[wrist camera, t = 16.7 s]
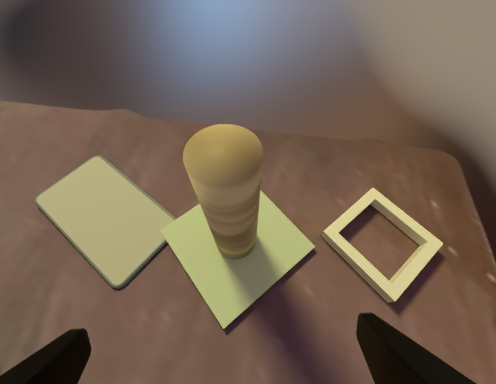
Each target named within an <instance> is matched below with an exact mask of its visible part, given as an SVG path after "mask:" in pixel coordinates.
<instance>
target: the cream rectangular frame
mask: <svg viewBox="0 0 496 384" xmlns="http://www.w3.org/2000/svg"><path fill="white" fill-rule="evenodd" d="M369 204H370V205H372V206H373V207H374V208H375V209H376V210H378V211H379V212H380V213H381V214H382V215H384V216H385V217H386V218H387V219H388V220H390V221H391V222H392V223H393V224H394V225H396V226H397V227H398V228H399V229H400V230H402V231H403V232H404V233H405V234H406V235H408V236H409V237H410V238H411V239H412V240H414V241H415V242H416V243H417V244H418V245H420V246H419V247H418V248H417V250H416V251H415V252H414V253H413V254H412V255H411V256H410V258H409V259H408V260H407V261H406V262H405V263H404V264H403V266H402V267H401V268H400V269H399V270H398V271H397V272H396V273H395V275H394V276H393V277H392V278H391V279H390V280H389V281H388V280H387V279H386V278H385V277H384V276H383V275H382V274H381V273H380V272H379V271H378V270H377V269H376V268H375V267H374V266H373V265H372V264H371V263H369V262H368V261H367V260H366V259H365V258H364V257H363V256H362V255H361V254H360V253H359V252H358V251H357V250H356V249H355V248H354V247H353V246H352V245H351V244H350V243H348V242H347V241H346V240H345V239H344V238H343V237H342V236H341V235H340V234H339V232H340V231H341V230H342V229H343V228H344V227H345V226H347V225H348V224H349V223H350V222H351V221H352V220H353V219H354V218H355V217H356V216H357V215H359V214H360V213H361V212H362V211H363V210H364V209H365V208H366V207H367V206H368V205H369ZM320 236H321V237H322V238H323V239H324V240H325V241H326V242H327V243H328V244H329V245H330V246H331V247H332V248H333V249H334V250H335V251H336V252H337V253H338V254H339V255H340V256H341V257H342V258H343V259H344V260H345V261H346V262H347V263H348V264H349V265H350V266H351V267H352V268H353V269H354V270H355V271H356V272H357V273H358V274H359V275H360V276H361V277H362V278H363V279H364V280H365V281H366V282H367V283H368V284H369V285H370V286H371V287H372V288H373V289H374V290H375V291H376V292H377V293H378V294H379V295H380V296H381V297H382V298H383V299H384V300H385V301H386V302H387V303H390V302H395V301H396V300H397V299H398V298H399V297H400V295H401V294H402V293H403V292H404V291H405V289H406V288H407V287H408V286H409V284H410V283H411V282H412V281H413V280H414V278H415V277H416V276H417V275H418V274H419V272H420V271H421V270H422V269H423V268H424V266H425V265H426V264H427V263H428V262H429V260H430V259H431V258H432V257H433V256H434V254H435V253H436V252H437V251H438V249H439V248H440V247H441V246H442V245H443V243H442V242H441V241H440V240H438V239H437V238H436V237H435V236H433V235H432V234H431V233H430V232H428V231H427V230H426V229H425V228H423V227H422V226H421V225H419V224H418V223H417V222H416V221H414V220H413V219H412V218H411V217H409V216H408V215H407V214H406V213H404V212H403V211H402V210H401V209H399V208H398V207H397V206H396V205H394V204H393V203H392V202H391V201H389V200H388V199H387V198H386V197H384V196H383V195H382V194H380V193H379V192H378V191H377V190H375V189H374V188H372V189H371V190H370V191H369V192H367V193H366V194H365V195H364V196H363V197H362V198H361V199H360V200H358V201H357V202H356V203H355V204H354V205H353V206H352V207H350V208H349V209H348V210H347V211H346V212H345V213H344V214H343V215H341V216H340V217H339V218H338V219H337V220H336V221H335V222H333V223H332V224H331V225H330V226H329V227H328V228H327V229H326V230H324V231H323V233H322V234H321V235H320Z"/></svg>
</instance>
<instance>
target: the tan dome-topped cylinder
mask: <svg viewBox="0 0 496 384" xmlns="http://www.w3.org/2000/svg"><path fill="white" fill-rule="evenodd" d="M183 162H184V165H185V168H186V170H187V173H188V175H189V178H190V180H191V183H192V185H193V188H194V190H195V193H196V195H197V198H198V200H199V203H200V205H201V208H202V210H203V213H204V215H205V218H206V220H207V223H208V225H209V228H210V230H211V233H212V235H213V238H214V240H215V243H216V245H217V248H218V250H219V251H220V252H221V253H222V254H223V255H224V256H226V257H228V258H231V259H240V258H243V257H246V256H247V255H249V254H250V253H251V252H252V250H253V249H254V247H255V244H256V237H257V224H258V212H259V200H260V187H261V175H262V163H263V148H262V145H261V142H260V141H259V139H258V138H257V137H256V135H254V134H253V133H252V132H251V131H249V130H248V129H246V128H243V127H241V126H237V125H232V124H231V125H230V124H220V125H213V126H210V127H207V128H205V129H203V130H201V131H199V132H197V133H196V134H195V135H194V136H193V137H192V138H191V139H190V140H189V141H188V142H187V144H186V146H185V149H184V152H183Z"/></svg>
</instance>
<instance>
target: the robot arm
mask: <svg viewBox="0 0 496 384" xmlns="http://www.w3.org/2000/svg"><path fill="white" fill-rule="evenodd" d="M356 334H357V339H358V342H359V345H360V347H361V350H362V352H363V355H364V357H365V360H366V362H367V365H368V367H369V370H370V372H371V375H372V377H373V380H374V382H375V384H476V383H475V382H473V381H472V380H470V379H469V378H467V377H466V376H464V375H463V374H461V373H460V372H458V371H457V370H456V369H454V368H453V367H451V366H450V365H448V364H447V363H445V362H444V361H442V360H441V359H439V358H438V357H437V356H435V355H434V354H432V353H431V352H429V351H428V350H426V349H425V348H423V347H422V346H420V345H419V344H417V343H416V342H415V341H413V340H412V339H410V338H409V337H407V336H406V335H404V334H403V333H401V332H400V331H398V330H397V329H396V328H394V327H393V326H391V325H390V324H388V323H387V322H385V321H384V320H382V319H381V318H379V317H378V316H376V315H375V314H373V313H370V312H368V313H360V314H359V315H358V322H357V331H356ZM90 354H91V345H90V341H89V337H88V333H87V330H86V329H84V328H77V329H71V330H69V331H67V332H66V333H64V334H63V335H61V336H60V337H58V338H57V339H55V340H54V341H52V342H51V343H49V344H48V345H46V346H45V347H43V348H42V349H40V350H39V351H37V352H36V353H34V354H32V355H31V356H29V357H28V358H26V359H25V360H23V361H22V362H20V363H19V364H17V365H16V366H14V367H13V368H11V369H10V370H8V371H7V372H5V373H4V374H2V375H1V376H0V384H78V381H79V379H80V377H81V375H82V373H83V370H84V368H85V366H86V364H87V361H88V359H89V357H90Z"/></svg>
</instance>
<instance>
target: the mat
mask: <svg viewBox="0 0 496 384" xmlns="http://www.w3.org/2000/svg"><path fill="white" fill-rule="evenodd" d="M160 231H161V233H162V234H163V236H164V238H165V239H166V241H167V242H168V244H169V245H170V247H171V248H172V250H173V251H174V253H175V255H176V256H177V258H178V259H179V261H180V262H181V264H182V265H183V267H184V269H185V270H186V272H187V273H188V275H189V276H190V278H191V279H192V281H193V283H194V284H195V286H196V287H197V289H198V290H199V292H200V293H201V295H202V297H203V298H204V300H205V301H206V303H207V304H208V306H209V307H210V309H211V311H212V312H213V314H214V315H215V317H216V318H217V320H218V321H219V323H220V325H221V326H222V328H223V329H224V328H226V327H227V326H228V325H229V324H230V323H231V322H232V321H233V320H234V319H236V318H237V317H238V316H239V315H240V314H241V313H242V312H243V311H244V310H246V309H247V308H248V307H249V306H250V305H251V304H252V303H253V302H254V301H256V300H257V299H258V298H259V297H260V296H261V295H262V294H263V293H264V292H266V291H267V290H268V289H269V288H270V287H271V286H272V285H273V284H274V283H276V282H277V281H278V280H279V279H280V278H281V277H282V276H283V275H284V274H286V273H287V272H288V271H289V270H290V269H291V268H292V267H293V266H294V265H296V264H297V263H298V262H299V261H300V260H301V259H302V258H303V257H304V256H306V255H307V254H308V253H309V252H310V251H311V250H312V249H313V248H314V247H315V246H314V245H313V244H312V243H311V242H310V241H309V240H308V239H307V238H306V237H305V236H304V235H303V234H302V233H301V232H300V231H299V230H298V229H297V227H296V226H295V225H294V224H293V223H292V222H291V221H290V220H289V219H288V218H287V217H286V216H285V215H284V214H283V213H282V212H281V211H280V210H279V209H278V208H277V207H276V206H275V205H274V204H273V203H272V202H271V201H270V199H269V198H268V197H267V196H266V195H265V194H264V193H263V192H262V191H261V190H260V200H259V212H258V224H257V237H256V244H255V247H254V249H253V250H252V252H251V253H250V254H249V255H247V256H246V257H243V258H240V259H231V258H228V257H226V256H224V255H223V254H222V253H221V252H220V251H219V250H218V248H217V245H216V243H215V240H214V238H213V235H212V233H211V230H210V228H209V225H208V223H207V220H206V218H205V215H204V213H203V210H202V208H201V205H200V204H199V205H197V206H196V207H194V208H193V209H191V210H190V211H188V212H187V213H185V214H184V215H182V216H181V217H179V218H178V219H176V220H174V221H173V222H171V223H170V224H168V225H167V226H165V227H164V228H162V229H161V230H160Z"/></svg>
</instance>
